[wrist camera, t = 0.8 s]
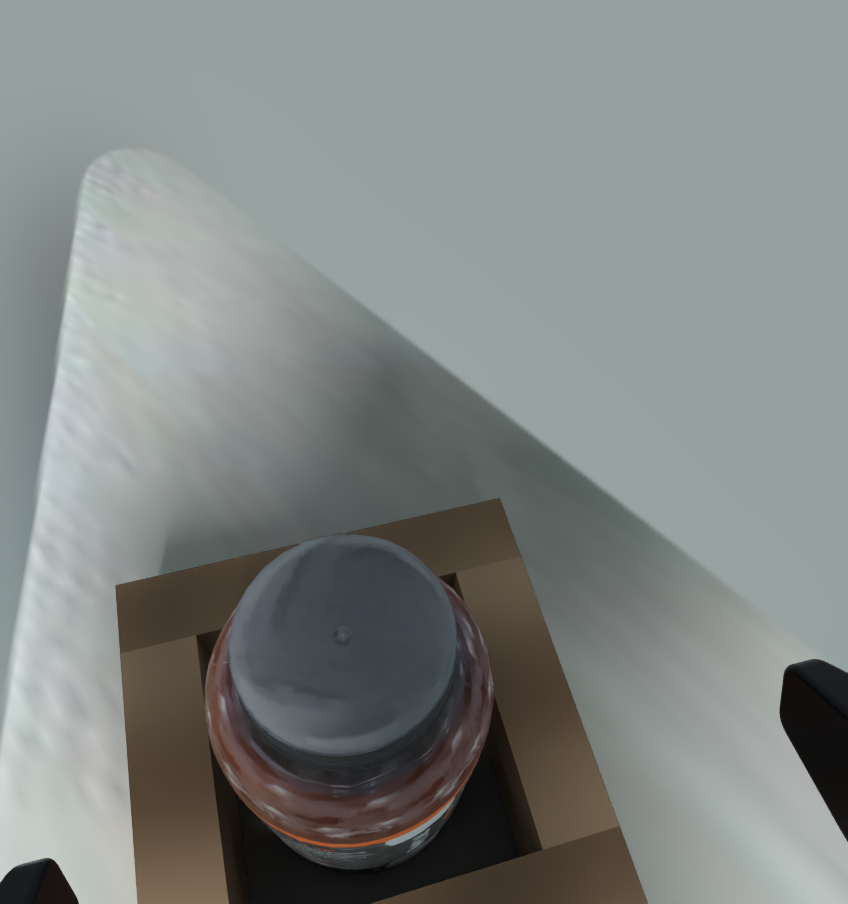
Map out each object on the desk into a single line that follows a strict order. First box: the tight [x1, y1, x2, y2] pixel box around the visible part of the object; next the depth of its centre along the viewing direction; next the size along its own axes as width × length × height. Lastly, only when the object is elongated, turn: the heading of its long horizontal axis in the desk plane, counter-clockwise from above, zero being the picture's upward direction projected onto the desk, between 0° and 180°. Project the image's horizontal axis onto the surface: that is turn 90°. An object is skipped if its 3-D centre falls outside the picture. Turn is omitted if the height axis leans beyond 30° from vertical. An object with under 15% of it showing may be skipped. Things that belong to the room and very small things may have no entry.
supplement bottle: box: [204, 533, 495, 874], centre depth 18 cm, size 6×6×11 cm
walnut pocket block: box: [116, 498, 648, 904], centre depth 21 cm, size 11×11×4 cm
